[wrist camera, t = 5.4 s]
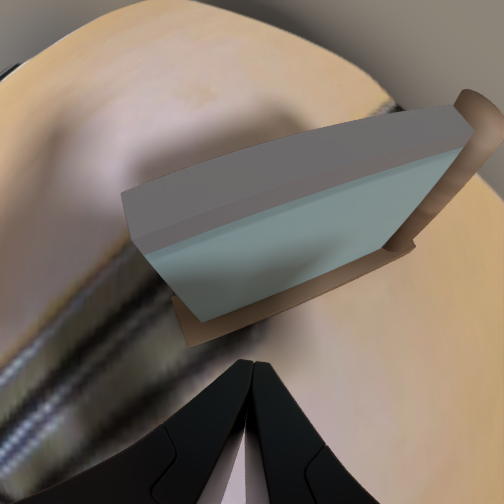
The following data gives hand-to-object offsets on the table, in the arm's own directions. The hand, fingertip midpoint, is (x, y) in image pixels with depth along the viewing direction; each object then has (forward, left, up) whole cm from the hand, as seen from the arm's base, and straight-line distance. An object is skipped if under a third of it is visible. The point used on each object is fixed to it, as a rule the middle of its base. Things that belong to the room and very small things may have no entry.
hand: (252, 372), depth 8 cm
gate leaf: (+5, +1, -6) cm, 8 cm away
